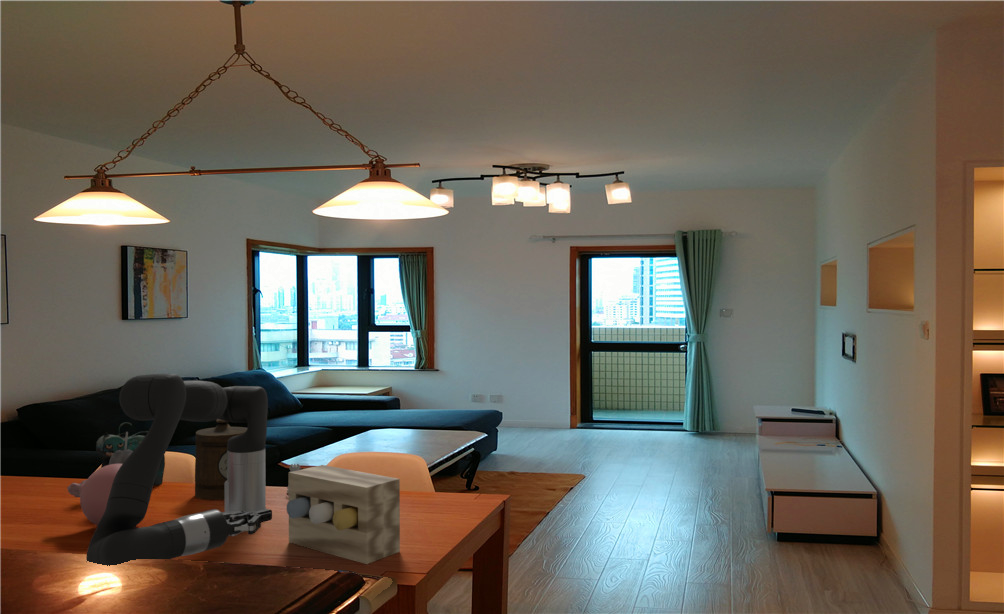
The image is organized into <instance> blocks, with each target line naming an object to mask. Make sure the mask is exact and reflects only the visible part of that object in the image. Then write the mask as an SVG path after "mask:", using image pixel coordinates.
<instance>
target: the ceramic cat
mask: <svg viewBox="0 0 1004 614" xmlns="http://www.w3.org/2000/svg"><path fill="white" fill-rule="evenodd" d="M125 424H128V425H129V426H130V427H132V423H131V422H128V421H127V422H126V421H125V422H122V423H121V424H120V425H119V426H118V434H116V435H115V434H109V433H108V432H105V433H104V435H102V436H100V437H99V438H98V439H97V440H96V446H95V451H96V452H97V455H99V456H100V457H101V458H102V459H101V464H100V465H101V466H100V468H102V467H104V466H107V465H109V461H110V458H111V456H112V455H113V453H115V452H116V451H118V450H120V449H124V448H125V437H126V436H124V435H126V432H123V433H121V431H120V428H121V427H122V426H123V425H125ZM148 431H149V430H145V431H144V430H143V431H139V432H137V433H136V432H135V434H132V435H130V436H128V439H127V449H129V450H131V451H134V450H135V449H136V448H137V446H138V445H139V444H140V443H141V442H142V440H143V439H144V437H145V436H146V435H139V434H142V433H144V434H145V433H146V434H147V433H148ZM165 466H166V457H165V455H164V456H163V459H162V461H161V464H160V466H159V469H158V472H157V475H156V478H155V481H154V485H153V487H154V486H155V487H156V486H159V485H163V479H164V472H165V469H166V468H165Z"/></svg>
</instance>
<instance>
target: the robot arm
mask: <svg viewBox="0 0 1004 614" xmlns="http://www.w3.org/2000/svg"><path fill="white" fill-rule="evenodd" d="M118 398H119V405H120V407H121V409H122V412H123V413H124V414H125V415H126V416H128V417H129V418H130V419H133V420H135V421H142V422H143V421H144V422H145V421H152V423H151V426H150V428H149V430H147V431H148V433H146V435H144V436H145V437H144V439H143V440H142V442H141V443H140V444H139V445H138V446H137V448H136V449H135V450H134V451H133V452H132V453H131V454H130V456H129V457H128V458H127V459H126V460H125V461H124V463H123V464H122V465H121V467H120V468H119V470H118V472H117V474H116V476H115V478H114V481H113V484H112V487H111V491H110V494H109V498H108V502H107V506H106V510H105V512H104V514H103V516H102V518H101V520H100V522H99V524H98V526H97V525H96V528H95V530H94V532H93V534H92V536H91V538H90V541H89V544H88V547H87V550H86V559H85V560H87V561H89V562H93V563H97V564H102V565H107V566H108V565H109V566H110V565H117V564H121V563H124V562H128V561H130V560H136V559H169V560H171V559H176V558H179V557H184V556H185V557H186V556H191V555H195V554H198V553H202V552H205V551H206V552H207V551H210V550H212V549H213V550H214V549H216V548H220V547H222V546H223V545H225V543H226V541H227V540H228V538H229V537H235V536H238V535H239V534H240V533H244V532H247V534H248V535H250V536H252V535H255V534H256V532H257V531H258V530H260V529H261V527H262V525H261V524H262V523H265V522H268V521H272V519H273V511H272V509H269V508H266V505H267V504H266V499H267V498H266V494H267V493H266V488H267V486H266V441H267V430H268V428H267V425H268V411H269V409H268V408H269V402H268V400H269V399H268V393H267V391H266V389H265V388H264V387H262V386H258V385H256V386H255V385H254V386H253V385H252V386H248V385H243V386H242V385H234V386H228V387H227V386H226V387H222V386H221V385H219V383H215V382H213V381H206V380H195V379H194V380H183V379H182V377H181V376H179V375H178V374H176V373H152V374H139V375H136V376H133V377H131V378H129V379H128V380H127V381H126V382H125V383H124V384H123V386H122V387H121V388H120V392H119V397H118ZM217 419H220V420H224V421H227V422H228V423H235V424H236V423H237V424H239V423H240V424H243V423H244V424H247V427H246V428H247V431H246V432H244V433H243V434H240V435H238V436H235V437H232V438H230V439H229V440H228V442H227V481H225V483H224V500H223V501H224V511H221V510H219V509H216V508H213V509H212V508H211V509H207V510H203V511H200V512H199V511H198V512H196V513H193V514H187V515H183V516H179V517H177V518H175V519H171V520H167V521H164V522H159V523H155V524H152V525H149V526H141V527H137V526H138V525H139V524H140V523H141V522H142V521H143V520H144V518H145V516H146V515H147V511H148V508H149V505H150V500H151V496H152V492H153V488H154V486H153V485H154V481H155V478H156V475H157V472H158V469H159V466H160V464H161V461H162V459H163V456H165V455H166V451H167V449H168V447H169V445H170V443H171V441H172V438H173V436H174V434H175V431H176V429H177V426H178V424H179V422H180V421H188V422H198V423H199V422H201V423H204V422H205V423H207V422H213V421H216V420H217ZM87 561H86V562H87Z"/></svg>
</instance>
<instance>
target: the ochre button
mask: <svg viewBox="0 0 1004 614" xmlns="http://www.w3.org/2000/svg"><path fill="white" fill-rule="evenodd" d="M333 524H334V526H335V527H336V528H337V529H338V530H343V529H346V528H350V527H353V526H356V525H358V507H354V506H353V507H349V508H346V509H342V510H339V511H336V512H335V513H334V515H333Z"/></svg>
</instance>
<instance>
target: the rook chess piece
mask: <svg viewBox="0 0 1004 614" xmlns="http://www.w3.org/2000/svg"><path fill="white" fill-rule="evenodd" d="M289 465H290V466H289V467H288V469H289V470H290V471H289V472H293V471H297V470H301V469H302V467H301V466H300V463H291V464H289ZM286 489H287V490H286V492H287V494H289V484H288V486H287V488H286Z"/></svg>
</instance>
